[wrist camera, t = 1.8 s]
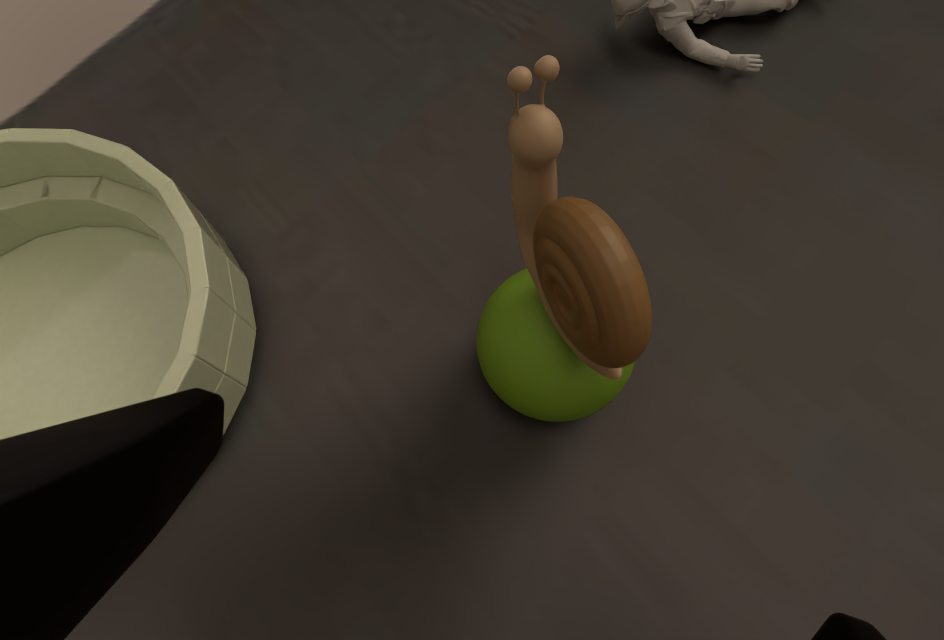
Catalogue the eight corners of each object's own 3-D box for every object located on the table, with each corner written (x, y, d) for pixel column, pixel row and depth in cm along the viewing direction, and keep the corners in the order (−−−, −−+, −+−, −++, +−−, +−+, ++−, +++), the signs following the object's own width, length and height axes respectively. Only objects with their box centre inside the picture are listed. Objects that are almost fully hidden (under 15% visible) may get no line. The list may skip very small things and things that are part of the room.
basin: (-47, 648, 19) (-221, 689, 14) (-155, 319, 23) (-317, 264, 18) (327, 406, 21) (286, 372, 17) (171, 150, 26) (104, 66, 21)
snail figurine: (559, 258, 24) (637, 12, 12) (642, 394, 22) (826, 246, 10) (442, 313, 23) (410, 101, 11) (516, 458, 21) (567, 375, 9)
